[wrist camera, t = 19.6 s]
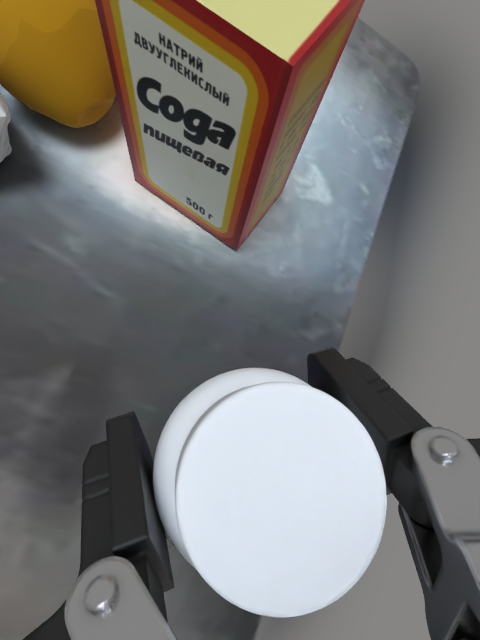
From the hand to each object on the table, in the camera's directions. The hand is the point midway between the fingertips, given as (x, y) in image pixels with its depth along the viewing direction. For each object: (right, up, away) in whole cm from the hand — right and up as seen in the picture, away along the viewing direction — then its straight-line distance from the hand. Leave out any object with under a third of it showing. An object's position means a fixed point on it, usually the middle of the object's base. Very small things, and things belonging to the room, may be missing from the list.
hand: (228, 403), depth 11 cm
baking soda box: (-2, +13, +18) cm, 22 cm away
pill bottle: (0, -3, +4) cm, 5 cm away
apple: (-10, +17, +15) cm, 25 cm away
